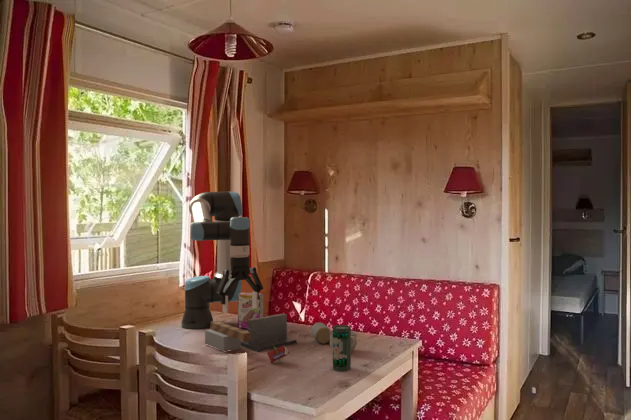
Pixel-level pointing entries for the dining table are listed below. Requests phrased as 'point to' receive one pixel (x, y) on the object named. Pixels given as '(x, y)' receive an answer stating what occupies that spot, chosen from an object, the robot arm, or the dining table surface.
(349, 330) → the can
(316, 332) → the ceramic mug
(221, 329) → the walnut bar
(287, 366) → the dining table surface
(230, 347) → the grey stand
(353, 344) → the teacup
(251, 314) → the candy bar box
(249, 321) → the metal ridge
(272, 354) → the geometric puzzle
